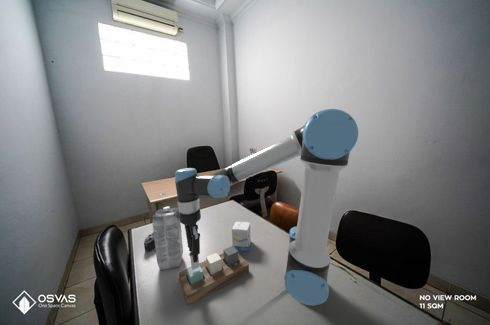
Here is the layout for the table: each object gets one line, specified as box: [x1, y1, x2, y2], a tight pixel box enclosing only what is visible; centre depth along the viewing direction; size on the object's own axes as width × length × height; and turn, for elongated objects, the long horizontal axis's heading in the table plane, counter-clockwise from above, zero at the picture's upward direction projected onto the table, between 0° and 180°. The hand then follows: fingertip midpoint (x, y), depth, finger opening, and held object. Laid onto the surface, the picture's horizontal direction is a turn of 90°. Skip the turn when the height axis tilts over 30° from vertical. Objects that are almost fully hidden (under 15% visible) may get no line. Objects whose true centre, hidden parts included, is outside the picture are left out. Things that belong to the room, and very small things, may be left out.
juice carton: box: [151, 206, 184, 271], centre depth 79 cm, size 9×10×27 cm
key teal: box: [186, 265, 204, 286], centre depth 68 cm, size 5×5×5 cm
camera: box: [143, 232, 156, 254], centre depth 94 cm, size 16×8×10 cm, turn 160°
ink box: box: [231, 221, 252, 252], centre depth 91 cm, size 9×8×12 cm
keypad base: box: [178, 252, 250, 305], centre depth 73 cm, size 13×26×4 cm, turn 123°
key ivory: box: [205, 252, 222, 276], centre depth 72 cm, size 5×5×5 cm
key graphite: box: [223, 245, 239, 267], centre depth 76 cm, size 5×5×5 cm
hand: (195, 267), depth 67 cm, fingers closed
